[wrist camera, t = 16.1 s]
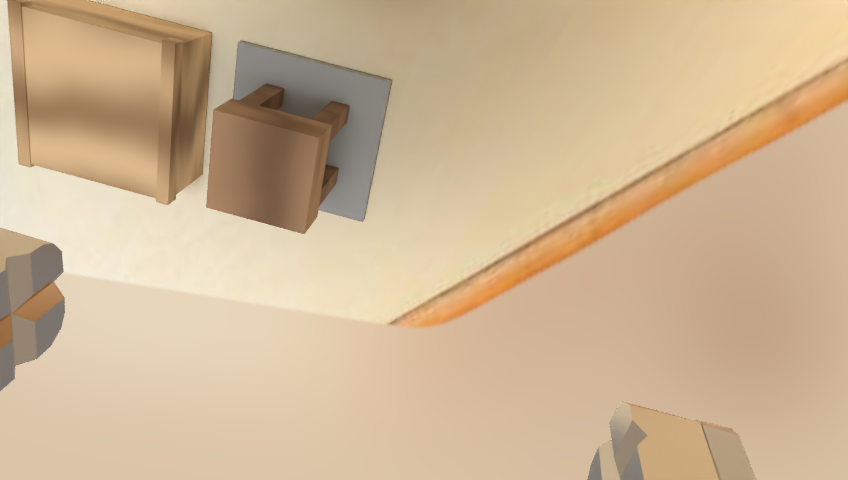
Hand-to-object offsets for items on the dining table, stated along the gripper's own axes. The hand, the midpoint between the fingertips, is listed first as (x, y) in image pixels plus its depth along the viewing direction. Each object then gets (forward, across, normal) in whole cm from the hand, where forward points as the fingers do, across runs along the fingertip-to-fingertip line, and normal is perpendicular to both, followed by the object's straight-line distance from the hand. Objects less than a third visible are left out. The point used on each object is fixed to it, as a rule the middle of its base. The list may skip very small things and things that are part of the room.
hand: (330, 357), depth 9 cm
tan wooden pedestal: (+34, +22, +10) cm, 42 cm away
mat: (+34, +10, +10) cm, 37 cm away
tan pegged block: (+34, +10, +10) cm, 36 cm away
